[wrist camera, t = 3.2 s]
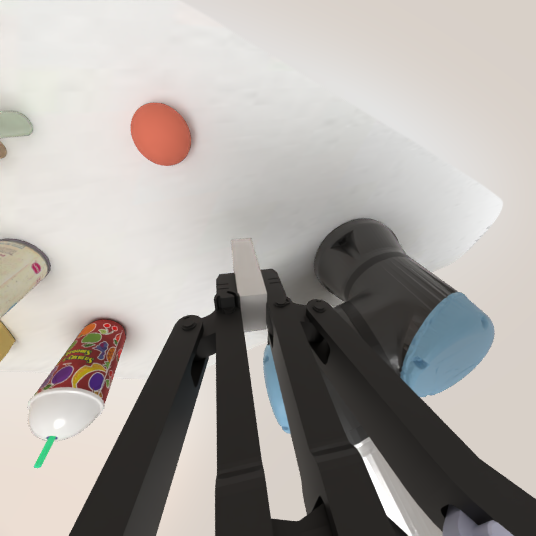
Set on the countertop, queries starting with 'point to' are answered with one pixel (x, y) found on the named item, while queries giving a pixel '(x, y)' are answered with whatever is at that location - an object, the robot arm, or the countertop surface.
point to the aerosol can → (19, 271)
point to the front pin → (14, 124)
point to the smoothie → (76, 385)
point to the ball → (160, 134)
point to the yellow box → (5, 341)
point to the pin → (2, 151)
